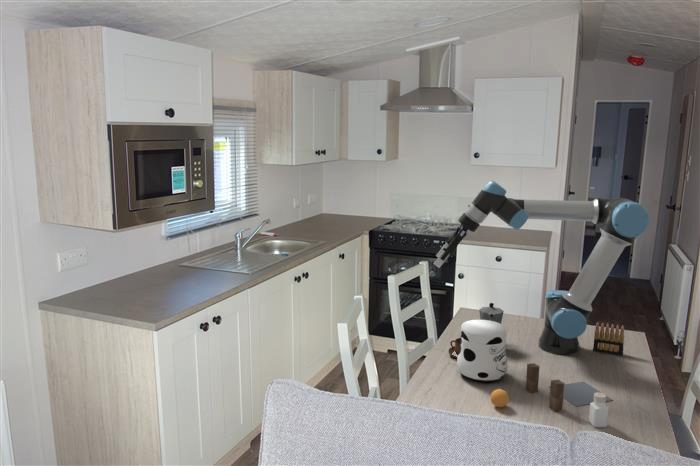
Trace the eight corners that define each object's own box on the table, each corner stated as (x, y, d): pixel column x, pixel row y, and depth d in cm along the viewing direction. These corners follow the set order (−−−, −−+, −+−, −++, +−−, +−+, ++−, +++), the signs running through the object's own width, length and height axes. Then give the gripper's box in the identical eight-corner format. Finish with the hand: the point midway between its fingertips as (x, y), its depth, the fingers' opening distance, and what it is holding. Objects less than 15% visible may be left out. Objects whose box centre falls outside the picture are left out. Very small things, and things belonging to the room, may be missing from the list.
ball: (502, 401, 180) (503, 385, 179) (511, 409, 175) (512, 392, 174) (487, 403, 179) (487, 387, 178) (496, 411, 174) (496, 395, 173)
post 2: (556, 406, 177) (558, 379, 175) (562, 410, 174) (564, 383, 173) (549, 407, 176) (550, 380, 175) (554, 411, 174) (556, 384, 172)
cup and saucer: (445, 360, 213) (446, 344, 211) (451, 348, 224) (452, 333, 222) (477, 364, 208) (478, 349, 207) (482, 352, 219) (482, 337, 218)
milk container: (514, 385, 191) (516, 335, 188) (464, 386, 190) (466, 336, 187) (497, 364, 208) (499, 317, 205) (451, 365, 207) (453, 319, 204)
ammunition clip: (622, 354, 217) (625, 324, 215) (622, 355, 216) (625, 326, 213) (592, 349, 222) (595, 320, 219) (592, 351, 220) (595, 322, 218)
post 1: (532, 388, 189) (534, 363, 187) (537, 391, 186) (539, 366, 185) (525, 389, 188) (527, 364, 187) (530, 393, 186) (532, 367, 184)
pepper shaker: (600, 421, 168) (603, 391, 166) (607, 428, 164) (610, 397, 162) (587, 421, 168) (590, 391, 166) (593, 428, 164) (596, 398, 162)
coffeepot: (502, 353, 218) (504, 309, 215) (477, 351, 220) (479, 307, 217) (501, 339, 233) (503, 297, 230) (477, 337, 235) (479, 295, 232)
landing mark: (583, 381, 194) (583, 381, 194) (613, 400, 180) (613, 400, 180) (548, 387, 190) (548, 386, 190) (575, 406, 177) (576, 406, 177)
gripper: (464, 207, 221) (432, 248, 227) (463, 217, 197) (426, 263, 203) (480, 219, 220) (447, 260, 226) (480, 230, 196) (443, 275, 202)
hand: (437, 261), depth 214 cm, fingers open, 13 cm apart
